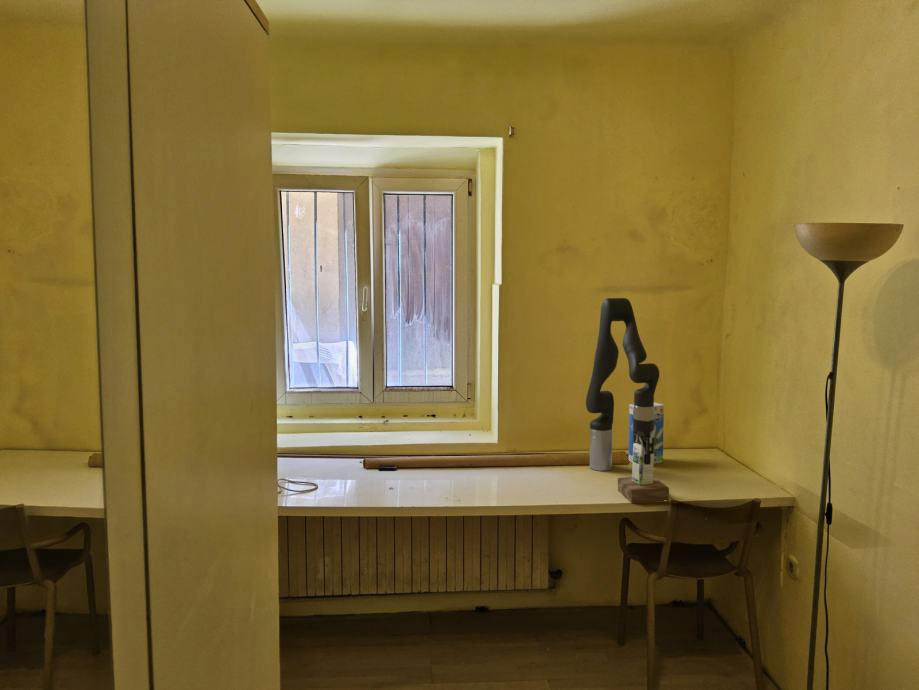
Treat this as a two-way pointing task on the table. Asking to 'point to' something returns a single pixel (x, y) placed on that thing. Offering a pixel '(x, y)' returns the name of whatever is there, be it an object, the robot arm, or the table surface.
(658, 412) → the string lights box
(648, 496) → the walnut block
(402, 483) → the table surface
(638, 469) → the syrup box
